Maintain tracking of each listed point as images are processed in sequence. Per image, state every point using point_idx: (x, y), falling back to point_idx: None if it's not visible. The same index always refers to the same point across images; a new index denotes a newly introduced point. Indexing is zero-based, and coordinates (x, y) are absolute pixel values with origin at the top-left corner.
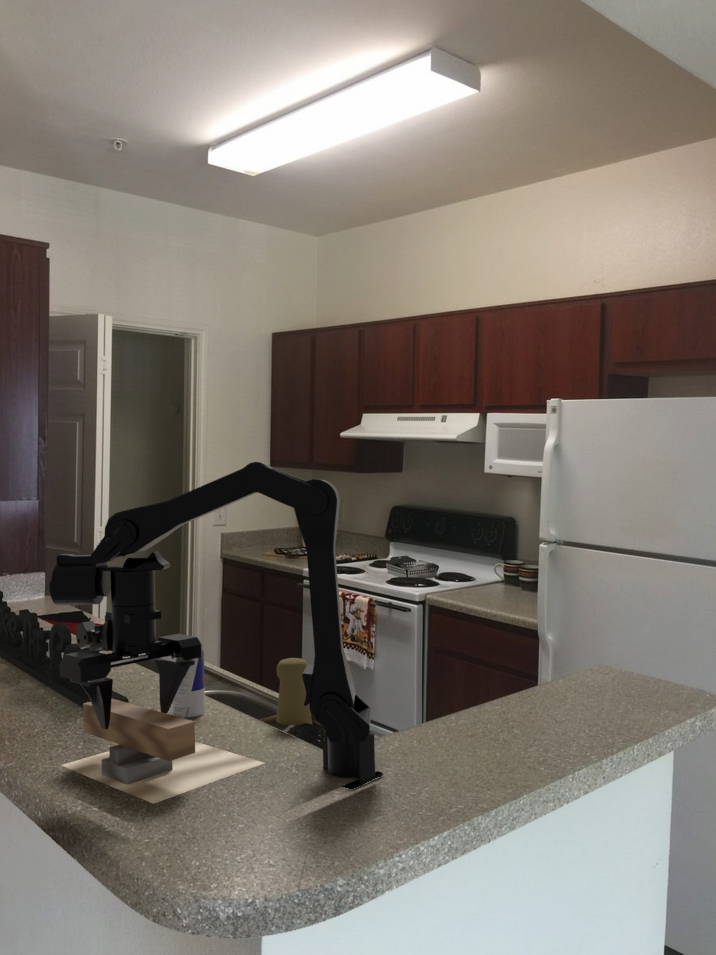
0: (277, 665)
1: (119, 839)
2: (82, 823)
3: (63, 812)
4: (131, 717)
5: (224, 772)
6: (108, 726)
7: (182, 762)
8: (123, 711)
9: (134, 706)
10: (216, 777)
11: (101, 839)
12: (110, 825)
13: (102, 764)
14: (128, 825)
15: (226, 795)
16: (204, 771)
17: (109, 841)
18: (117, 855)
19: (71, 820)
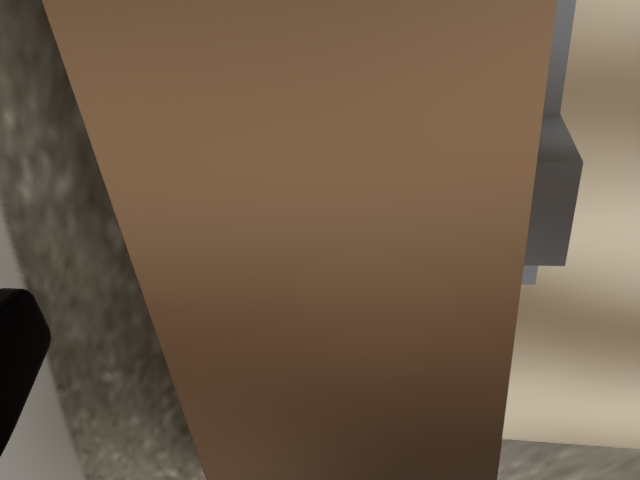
0: None
1: (118, 432)
2: (51, 299)
3: (3, 177)
4: (209, 469)
5: (629, 414)
6: (41, 360)
7: None
8: (232, 282)
9: (473, 192)
10: (560, 423)
11: (78, 405)
12: (121, 364)
13: None
14: (164, 396)
15: (510, 452)
16: (593, 352)
17: (93, 424)
18: (92, 475)
19: (22, 256)
